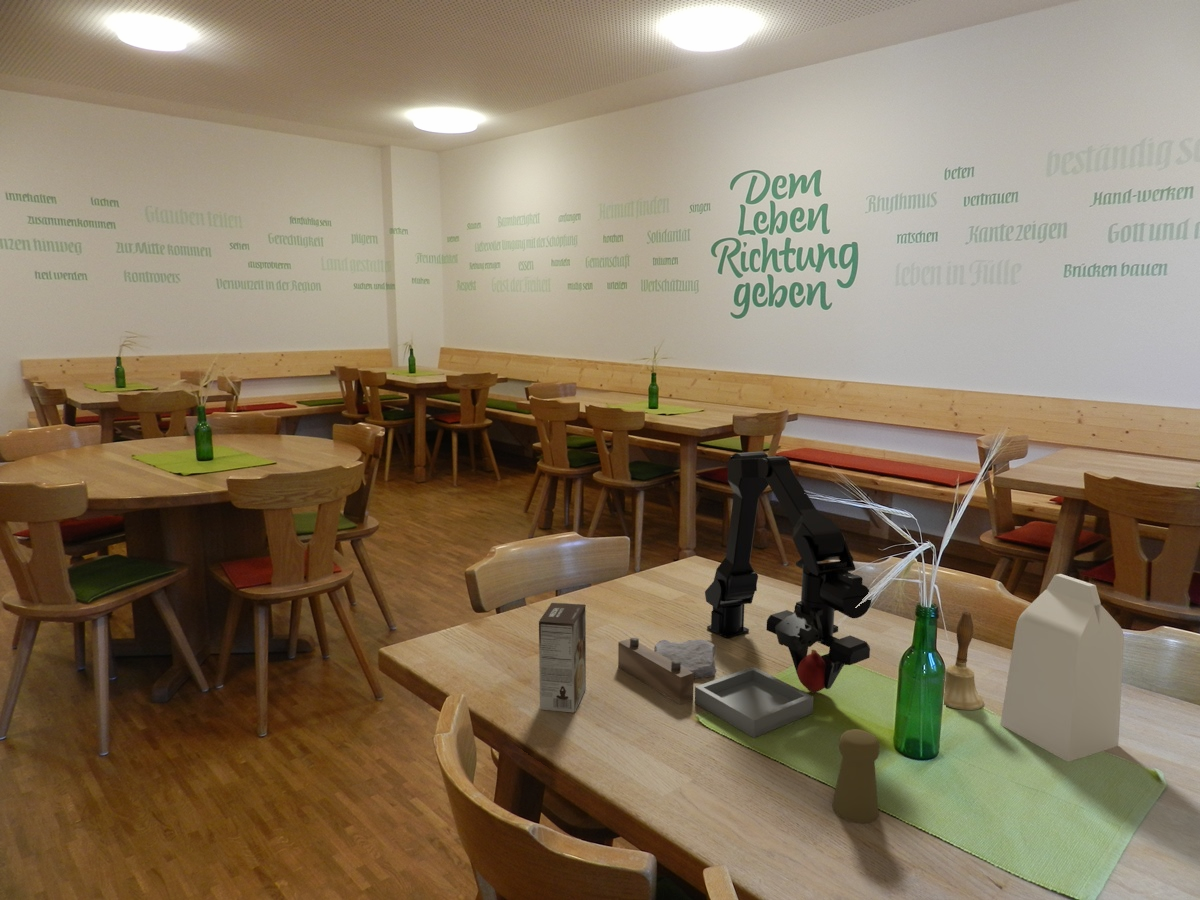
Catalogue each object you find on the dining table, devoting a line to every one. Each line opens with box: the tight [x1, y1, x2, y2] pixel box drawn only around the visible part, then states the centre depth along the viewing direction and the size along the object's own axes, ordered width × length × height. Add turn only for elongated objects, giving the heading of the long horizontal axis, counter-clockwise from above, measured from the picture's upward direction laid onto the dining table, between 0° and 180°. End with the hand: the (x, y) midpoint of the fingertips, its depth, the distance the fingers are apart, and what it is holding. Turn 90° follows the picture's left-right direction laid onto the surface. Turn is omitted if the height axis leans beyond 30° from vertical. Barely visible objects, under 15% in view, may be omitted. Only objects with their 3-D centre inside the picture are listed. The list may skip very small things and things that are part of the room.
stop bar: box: [617, 637, 695, 705], centre depth 146 cm, size 3×18×6 cm, turn 35°
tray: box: [694, 666, 815, 739], centre depth 137 cm, size 14×14×3 cm
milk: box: [999, 573, 1125, 763], centre depth 126 cm, size 12×12×26 cm
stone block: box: [653, 639, 717, 679], centre depth 153 cm, size 12×5×10 cm
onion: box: [796, 648, 825, 694], centre depth 142 cm, size 6×6×8 cm
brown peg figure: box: [831, 728, 880, 824], centre depth 108 cm, size 6×6×11 cm
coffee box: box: [538, 602, 587, 713], centre depth 138 cm, size 9×6×16 cm
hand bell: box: [943, 611, 985, 711], centre depth 139 cm, size 8×8×16 cm
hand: (813, 681), depth 142 cm, fingers closed on onion, 6 cm apart
